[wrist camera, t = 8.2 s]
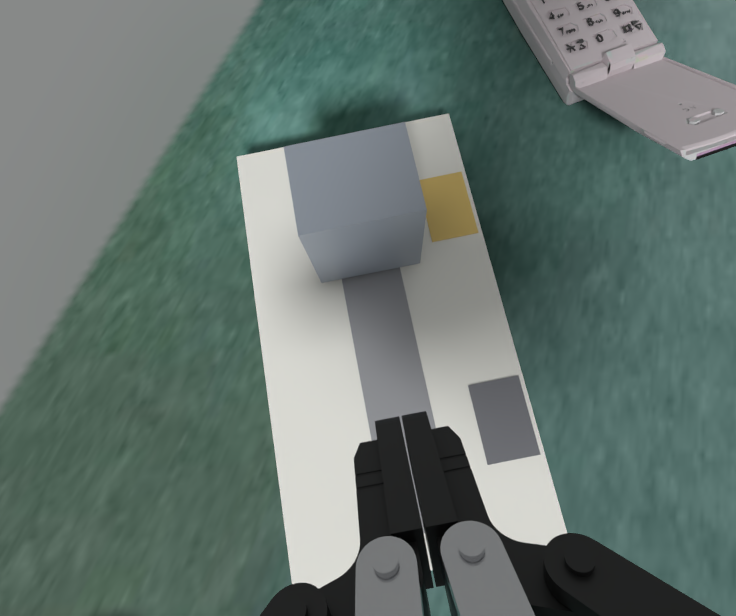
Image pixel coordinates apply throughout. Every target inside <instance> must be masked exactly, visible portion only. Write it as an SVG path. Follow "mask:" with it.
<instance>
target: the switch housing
mask: <svg viewBox="0 0 736 616" xmlns="http://www.w3.org/2000/svg"><path fill="white" fill-rule="evenodd" d="M405 124H406V128H407V132H408V136H409V140H410V144H411V148H412V152H413V156H414V160H415V164H416V168H417V172H418V176H419V180H420V184H421V188H422V192H423V196H424V200H425V204H426V208H427V213H426V220H425V228H424V236H423V244H422V252H421V260H420V263H419V264H414V265H409V266H404V267H399V268H394V269H389V270H384V271H379V272H374V273H369V274H364V275H359V276H354V277H349V278H344V279H339V280H334V281H329V282H324V283H321V281H320V279H319V277H318V275H317V273H316V271H315V269H314V267H313V265H312V263H311V261H310V259H309V257H308V255H307V253H306V251H305V249H304V247H303V245H302V243H301V241H300V239H299V237H298V232H297V226H296V220H295V213H294V207H293V201H292V195H291V189H290V183H289V177H288V170H287V164H286V158H285V152H284V147H282V148H277V149H272V150H267V151H262V152H258V153H253V154H248V155H243V156H238V157H237V163H238V171H239V179H240V187H241V194H242V202H243V210H244V217H245V225H246V233H247V240H248V248H249V256H250V264H251V271H252V279H253V287H254V294H255V302H256V310H257V317H258V325H259V333H260V341H261V348H262V356H263V364H264V371H265V379H266V387H267V394H268V402H269V410H270V418H271V425H272V433H273V441H274V448H275V456H276V464H277V471H278V479H279V487H280V495H281V502H282V510H283V518H284V525H285V533H286V541H287V548H288V556H289V564H290V572H291V579H292V584H295V583H309V584H312V585H314V586H316V587H317V588H318V589H319V588H321V587H323V586H324V585H326V584H328V583H330V582H332V581H333V580H335V579H337V578H338V577H340V576H342V575H343V574H344V573H345V572H346V571H347V570H348V569H349V568H350V567H351V566H352V564H353V563H354V561H355V559H356V557H357V555H358V552H359V547H360V534H359V521H358V508H357V495H356V482H355V468H354V456H355V454H356V451H357V449H358V446H359V444H360V443H362V442H367V441H372V440H377V434H376V427H375V421H377V420H382V419H387V418H392V417H397V416H399V418H400V422H401V427H402V432H403V437H404V441H405V446H406V451H407V456H408V460H409V455H408V449H407V444H406V439H405V433H404V428H403V422H402V417H401V416H402V415H407V414H412V413H418V412H423V411H426V412H427V416H428V419H429V423H430V426H431V429H434V428H439V427H445V426H449V427H450V428H451V429H452V430H453V431H454V432H455V433H456V434H457V435H458V436H459V437H460V439H461V441H462V444H463V447H464V450H465V453H466V456H467V458H468V461H469V464H470V468H471V470H472V472H473V475H474V478H475V481H476V484H477V486H478V489H479V492H480V495H481V498H482V501H483V503H484V506H485V509H486V512H487V515H488V517H489V519H490V521H491V523H492V524H493V525H494V527H495V528H496V529H497V530H498V531H500V532H501V533H502V534H504V535H505V536H507V537H509V538H511V539H513V540H516V541H519V542H524V543H531V544H539V545H546V546H547V544H548V543H549V542H550V541H551V540H552V539H553V538H554V537H556V536H558V535H561V534H566V533H567V531H566V527H565V524H564V520H563V517H562V513H561V510H560V506H559V502H558V499H557V495H556V492H555V488H554V485H553V481H552V478H551V474H550V471H549V467H548V463H547V460H546V456H545V453H544V449H543V446H542V442H541V439H540V435H539V432H538V428H537V424H536V421H535V417H534V414H533V410H532V407H531V403H530V400H529V396H528V393H527V389H526V385H525V382H524V378H523V375H522V371H521V368H520V364H519V361H518V357H517V354H516V350H515V346H514V343H513V339H512V336H511V332H510V329H509V325H508V322H507V318H506V315H505V311H504V307H503V304H502V300H501V297H500V293H499V290H498V286H497V283H496V279H495V276H494V272H493V268H492V265H491V261H490V258H489V254H488V251H487V247H486V244H485V240H484V237H483V233H482V230H481V226H480V222H479V219H478V215H477V212H476V208H475V205H474V201H473V198H472V194H471V191H470V187H469V183H468V180H467V176H466V173H465V169H464V166H463V162H462V159H461V155H460V152H459V148H458V144H457V141H456V137H455V134H454V130H453V127H452V123H451V120H450V116H449V113H448V114H443V115H438V116H433V117H429V118H424V119H419V120H414V121H409V122H405ZM409 465H410V460H409ZM410 470H411V465H410ZM411 475H412V470H411ZM412 480H413V484H414V479H413V475H412ZM414 489H415V484H414ZM415 494H416V489H415ZM416 499H417V503H418V498H417V494H416ZM418 508H419V503H418ZM419 513H420V518H421V522H422V517H421V512H420V508H419ZM422 527H423V522H422ZM423 533H424V538H425V543H426V549H427V554H428V560H429V565H430V570H433V569H432V564H431V560H430V555H429V550H428V545H427V541H426V536H425V531H424V527H423Z"/></svg>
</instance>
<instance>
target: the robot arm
mask: <svg viewBox="0 0 736 616" xmlns="http://www.w3.org/2000/svg"><path fill="white" fill-rule="evenodd" d="M401 417H402V422H403V428H404V433H405V439H406V444H407V449H408V455H409V460H410V465H411V470H412V475H413V479H414V484H415V489H416V494H417V498H418V503H419V508H420V512H421V517H422V522H423V527H424V531H425V536H426V541H427V545H428V550H429V555H430V560H431V564H432V569H433V574H434V578H435V583H436V587H438V586H444V585H445V589H446V594H447V598H448V603H449V607H450V613H451V616H720V615H718V614H717V613H715V612H713V611H712V610H710V609H708V608H707V607H705V606H703V605H702V604H700V603H698V602H697V601H695V600H693V599H692V598H690V597H688V596H687V595H685V594H683V593H682V592H680V591H678V590H677V589H675V588H673V587H672V586H670V585H668V584H667V583H665V582H663V581H662V580H660V579H658V578H657V577H655V576H653V575H652V574H650V573H648V572H647V571H645V570H643V569H642V568H640V567H638V566H637V565H635V564H633V563H632V562H630V561H628V560H627V559H625V558H623V557H622V556H620V555H618V554H617V553H615V552H614V551H612V550H610V549H609V548H607V547H605V546H604V545H602V544H600V543H599V542H597V541H595V540H593V539H591V538H590V537H587V536H584V535H581V534H576V533H566V534H561V535H558V536H556V537H554V538H553V539H552V540H551V541H550V542H549V543H548V544H547V546H546V545H539V544H531V543H524V542H519V541H516V540H513V539H511V538H509V537H507V536H505V535H504V534H502V533H501V532H500V531H498V530H497V529H496V528H495V527H494V525H493V524H492V523H491V521H490V519H489V517H488V515H487V512H486V509H485V506H484V503H483V501H482V498H481V495H480V492H479V489H478V486H477V484H476V481H475V478H474V475H473V472H472V470H471V468H470V464H469V461H468V458H467V456H466V453H465V450H464V447H463V444H462V441H461V439H460V437H459V436H458V435H457V434H456V433H455V432H454V431H453V430H452V429H451V428H450V427H449V426H445V427H439V428H434V429H431V426H430V423H429V419H428V416H427V412H426V411H423V412H418V413H412V414H407V415H402V416H401ZM375 427H376V434H377V440H372V441H367V442H362V443H360V444H359V446H358V449H357V451H356V454H355V456H354V468H355V482H356V495H357V508H358V521H359V534H360V547H359V552H358V555H357V557H356V559H355V561H354V563H353V564H352V566H351V567H350V568H349V569H348V570H347V571H346V572H345V573H344V574H343V575H342V576H340V577H338V578H337V579H335V580H333V581H332V582H330V583H328V584H326V585H324V586H323V587H321V588H319V589H318V588H317V587H316V586H314V585H312V584H309V583H295V584H292V585H289V586H287V587H285V588H284V589H282V590H281V591H279V592H278V593H277V594H276V595H275V596H274V597H273V599H272V600H271V601H270V603H269V604H268V605H267V607H266V608H265V609H264V611H263V612H262V613H261V615H260V616H431V614H430V608H429V603H428V598H427V592H426V589H429V588H434V587H433V582H432V576H431V571H430V565H429V560H428V554H427V549H426V543H425V538H424V533H423V527H422V522H421V518H420V513H419V508H418V503H417V499H416V494H415V489H414V484H413V480H412V475H411V470H410V465H409V460H408V456H407V451H406V446H405V441H404V437H403V432H402V427H401V422H400V418H399V416H397V417H392V418H387V419H382V420H377V421H375Z"/></svg>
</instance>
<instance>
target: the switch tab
mask: <svg viewBox="0 0 736 616" xmlns="http://www.w3.org/2000/svg"><path fill="white" fill-rule="evenodd" d="M284 152H285V158H286V164H287V170H288V177H289V183H290V189H291V195H292V201H293V207H294V213H295V220H296V226H297V232H298V237H299V239H300V241H301V243H302V245H303V247H304V249H305V251H306V253H307V255H308V257H309V259H310V261H311V263H312V265H313V267H314V269H315V271H316V273H317V275H318V277H319V279H320V281H321V283H324V282H329V281H334V280H339V279H344V278H349V277H354V276H359V275H364V274H369V273H374V272H379V271H384V270H389V269H394V268H399V267H404V266H409V265H414V264H419V263H420V260H421V252H422V244H423V236H424V228H425V220H426V213H427V208H426V204H425V200H424V196H423V192H422V188H421V184H420V180H419V176H418V172H417V168H416V164H415V160H414V156H413V152H412V148H411V144H410V140H409V136H408V132H407V128H406V124H405V122H402V123H397V124H392V125H387V126H382V127H377V128H372V129H367V130H363V131H358V132H353V133H348V134H343V135H338V136H333V137H328V138H323V139H319V140H314V141H309V142H304V143H299V144H294V145H289V146H284Z"/></svg>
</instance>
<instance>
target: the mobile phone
mask: <svg viewBox="0 0 736 616" xmlns="http://www.w3.org/2000/svg"><path fill="white" fill-rule="evenodd" d="M503 2H504V4H505V5H506V7H507V9H508V11H509V12H510V14H511V16H512V18H513V19H514V21H515V23H516V25H517V26H518V28H519V30H520V32H521V33H522V35H523V37H524V38H525V40H526V42H527V43H528V45H529V46H530V48H531V50H532V51H533V53H534V55H535V56H536V58H537V60H538V61H539V63H540V64H541V66H542V68H543V69H544V71H545V73H546V74H547V76H548V77H549V79H550V81H551V82H552V84H553V86H554V87H555V89H556V91H557V92H558V94H559V95H560V97H561V99H562V100H563V102H564V103H565V104H567V105H570V104H573V103H576V102H579V101H582V100H587V101H588V102H590V103H591V104H593V105H595V106H596V107H598V108H599V109H601V110H603V111H604V112H606V113H607V114H609V115H611V116H612V117H614V118H615V119H617V120H619V121H620V122H622V123H623V124H625V125H627V126H628V127H630V128H631V129H633V130H635V131H636V132H638V133H640V134H642V135H644V136H645V137H647V138H649V139H651V140H653V141H654V142H656V143H658V144H660V145H662V146H664V147H665V148H667V149H669V150H671V151H673V152H675V153H676V154H678V155H680V156H682V157H684V158H686V159H688V160H697V159H699V158H702V157H705V156H708V155H711V154H714V153H717V152H720V151H723V150H726V149H729V148H731V147H734V146H736V85H734V84H732V83H729V82H727V81H724V80H722V79H719V78H716V77H714V76H711V75H709V74H706V73H704V72H701V71H699V70H696V69H693V68H691V67H688V66H686V65H683V64H681V63H678V62H676V61H673V60H671V59H668V58H665V57H664V54H665V48H664V45H663V43H657V38H656V37H655V35H654V34H653V32H652V31H651V29H650V27H649V26H648V24H647V23H646V21H645V19H644V18H643V16H642V14H641V13H640V11H639V9H638V8H637V6H636V4H635V3H634V1H633V0H503Z"/></svg>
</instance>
